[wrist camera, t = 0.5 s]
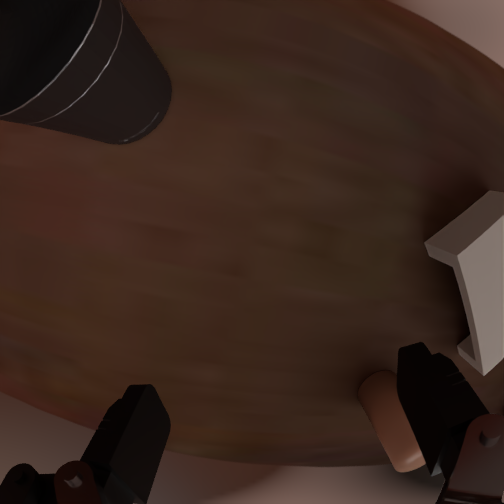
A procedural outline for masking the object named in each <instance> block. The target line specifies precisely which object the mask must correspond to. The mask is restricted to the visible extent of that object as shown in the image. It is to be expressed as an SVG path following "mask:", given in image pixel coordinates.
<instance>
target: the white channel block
mask: <svg viewBox="0 0 504 504" xmlns="http://www.w3.org/2000/svg"><path fill="white" fill-rule="evenodd" d="M424 244H425V246H426V249H427V252H428V254H429V256H430V257H432V258H434V259H436V260H438V261H441V262H443V263H445V264H447V265H449V266H451V267H453V269H454V272H455V276H456V279H457V282H458V286H459V289H460V293H461V297H462V300H463V304H464V308H465V312H466V316H467V320H468V325H469V329H470V335H469V336H468V337H467V338H465V339H464V340H463V341H462V342H461V343H460V344H458V345H457V348H458V352H459V355H461V356H462V357H463V358H464V359H465V360H466V361H467V362H468V363H470V364H471V365H472V366H473V367H474V368H475V369H476V370H477V371H479V372H480V373H481V374H482V375H483V376H485V375H486V374H487V373H488V372H489V371H490V370H491V369H492V368H493V367H494V366H495V365H497V364H498V363H499V362H500V361H501V360H502V359H503V358H504V192H498V191H490V190H489V191H488V192H487V193H486V194H485V195H484V196H482V197H481V198H480V199H479V200H478V201H476V202H475V203H474V204H473V205H471V206H470V207H469V208H468V209H467V210H465V211H464V212H463V213H462V214H460V215H459V216H458V217H457V218H455V219H454V220H453V221H451V222H450V223H449V224H448V225H446V226H445V227H444V228H442V229H441V230H440V231H439V232H437V233H436V234H435V235H433V236H432V237H431V238H429V239H428V240H427V241H425V242H424Z"/></svg>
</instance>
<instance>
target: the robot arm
mask: <svg viewBox="0 0 504 504" xmlns="http://www.w3.org/2000/svg"><path fill="white" fill-rule="evenodd" d="M171 92H172V89H171V81H170V78H169V76H168V73H167V71H166V70H165V68H164V67H163V65H162V64H161V62H160V60H159V59H158V57H157V55H156V54H155V52H154V51H153V49H152V48H151V46H150V45H149V43H148V41H147V40H146V38H145V37H144V35H143V34H142V32H141V31H140V29H139V28H138V26H137V25H136V23H135V22H134V20H133V19H132V17H131V16H130V14H129V13H128V11H127V10H126V8H125V7H124V5H123V4H122V2H121V1H120V0H0V120H4V121H9V122H15V123H21V124H26V125H31V126H36V127H41V128H46V129H50V130H55V131H59V132H64V133H68V134H73V135H77V136H81V137H85V138H89V139H93V140H97V141H101V142H105V143H109V144H119V145H120V144H127V143H131V142H134V141H137V140H139V139H141V138H143V137H144V136H146V135H148V134H149V133H150V132H151V131H152V130H153V129H155V128H156V127H157V125H158V124H159V123H160V122H161V120H162V119H163V117H164V116H165V114H166V112H167V110H168V107H169V104H170V101H171ZM396 385H397V394H398V398H399V401H400V403H401V406H402V408H403V410H404V412H405V415H406V417H407V419H408V422H409V424H410V426H411V429H412V431H413V433H414V436H415V438H416V440H417V443H418V445H419V448H420V450H421V453H422V455H423V458H424V460H425V463H426V465H427V468H428V470H429V473H430V475H431V476H434V475H436V474H439V473H441V472H442V473H443V475H444V478H445V482H444V484H443V487H442V490H441V492H440V494H439V496H438V499H437V501H436V503H435V504H504V503H502V495H503V491H504V416H502V415H499V414H490V413H489V412H488V410H487V409H486V407H485V406H484V404H483V403H482V402H481V400H480V399H479V397H478V396H477V394H476V393H475V391H474V390H473V389H472V387H471V386H470V384H469V383H468V382H467V381H466V380H465V377H464V376H463V375H462V373H461V372H459V369H458V368H457V367H456V365H455V364H454V363H453V361H452V360H451V359H449V358H448V357H446V356H444V355H442V354H441V353H436V354H433V355H432V354H431V353H430V351H429V350H428V348H427V347H426V346H425V344H424V343H423V342H419V343H415V344H412V345H408V346H405V347H401V348H400V349H399V351H398V368H397V384H396ZM170 427H171V424H170V418H169V415H168V413H167V411H166V409H165V408H164V406H163V404H162V402H161V400H160V398H159V396H158V394H157V392H156V390H155V388H154V387H153V386H152V385H151V384H144V385H130V386H129V387H128V388H127V390H126V392H125V393H124V395H123V397H122V399H118V400H117V401H116V402H115V403H114V404H113V405H112V406H111V407H110V408H109V409H108V410H107V412H106V414H105V416H104V418H103V421H101V423H100V425H99V426H98V430H96V432H95V434H94V436H93V437H92V439H91V441H90V443H89V445H88V447H87V448H86V450H85V452H84V454H83V456H82V457H81V459H80V461H71V462H68V463H66V464H64V465H62V466H61V467H60V468H59V469H58V470H57V472H56V474H38V472H37V471H36V470H35V469H34V468H33V467H32V466H31V465H29V464H26V463H22V464H18V465H16V466H14V467H13V468H11V469H10V471H9V472H8V473H7V475H6V476H5V478H4V480H3V482H2V484H1V485H0V504H133V503H137V504H146V503H147V500H148V497H149V494H150V491H151V488H152V485H153V481H154V478H155V475H156V472H157V469H158V466H159V463H160V460H161V457H162V454H163V451H164V448H165V445H166V442H167V439H168V436H169V433H170Z"/></svg>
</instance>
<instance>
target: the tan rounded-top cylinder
mask: <svg viewBox="0 0 504 504" xmlns="http://www.w3.org/2000/svg"><path fill="white" fill-rule="evenodd" d="M396 384H397V375H396V374H395V373H394V372H392V371H389V370H383V371H379V372H376V373H374V374H372V375H371V376H369V377H368V378H367V379H366V380H365V381H364V382H363V383H362V384H361V386H360V388H359V390H358V399H359V401H360V403H361V405H362V407H363V409H364V411H365V413H366V415H367V416H368V418H369V420H370V422H371V424H372V426H373V428H374V430H375V432H376V433H377V435H378V437H379V439H380V441H381V443H382V445H383V447H384V449H385V451H386V453H387V454H388V456H389V458H390V460H391V462H392V464H393V466H394V468H395V470H396V471H398V472H407V471H411V470H414V469H416V468H419V467H421V466H422V465H424V464H426V463H425V460H424V458H423V455H422V453H421V450H420V448H419V445H418V443H417V440H416V438H415V436H414V433H413V431H412V429H411V426H410V424H409V422H408V419H407V417H406V415H405V412H404V410H403V408H402V406H401V403H400V401H399V398H398V394H397V385H396Z"/></svg>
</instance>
